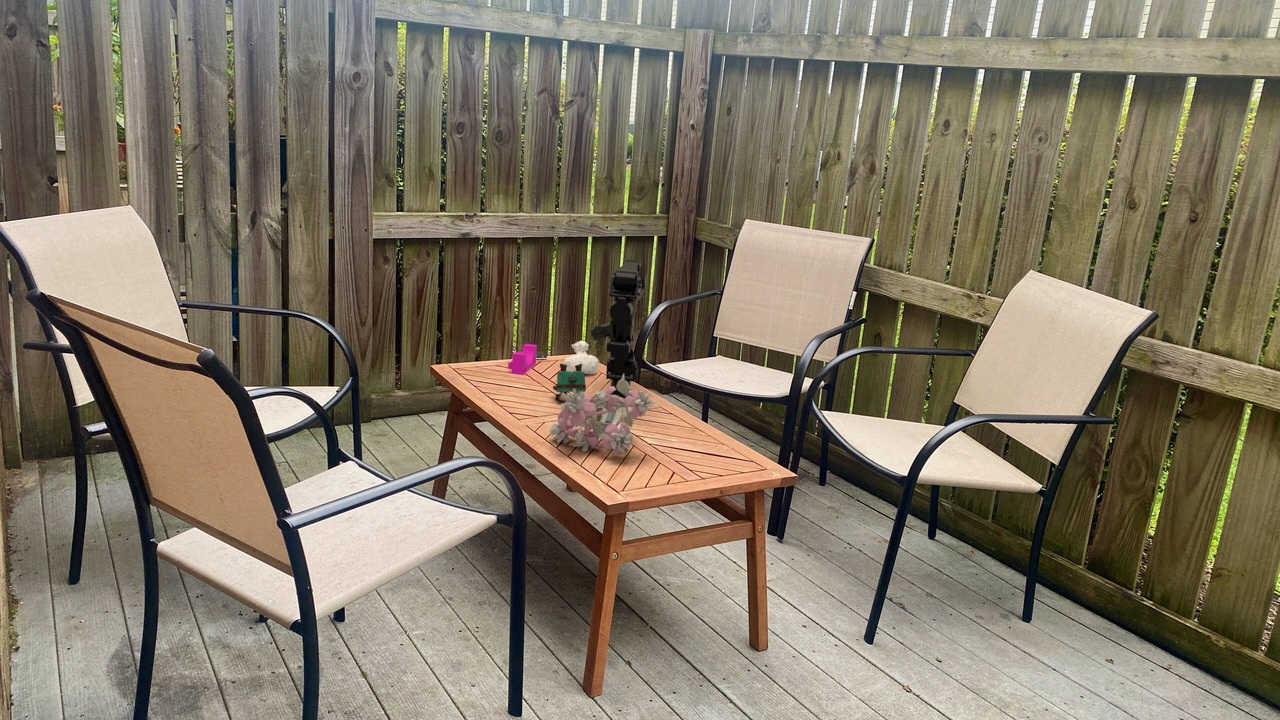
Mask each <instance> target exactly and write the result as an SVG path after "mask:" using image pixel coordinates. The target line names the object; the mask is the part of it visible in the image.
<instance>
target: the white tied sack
mask: <svg viewBox="0 0 1280 720" xmlns="http://www.w3.org/2000/svg"><path fill="white" fill-rule="evenodd" d="M589 346H590V344H588V343H587V341H584V340H580V341H577V342H575V343H574V344H571V348H572V349H573V351H574V352H575V353H576V354H574V355H573V354H572V355H570V356H568V357H566V358H564V359H563V362H562V364H565V365H567V367H566V371H571V372H573V371H576V368H575V366H576V365H579V364H582V367H581V371H583V372H584V373H585V374H589V375H588V376H590V374H591V375H595V374H596V373H597V372H598V368H599V363H600V360H599V358H597V356H594V355H592V354H588V353H587V351H589Z"/></svg>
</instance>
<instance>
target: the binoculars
mask: <svg viewBox="0 0 1280 720" xmlns="http://www.w3.org/2000/svg"><path fill="white" fill-rule="evenodd" d="M566 367H567V365H565V364H564V363H559V368H560V371H557V378H556V383H555V385H554V386H553V387H552V389H553V390H554V391H556V392H557V393H556V394H555V397H554V399H555V400H558V401H559V400H560V401H561V402H565V401H566V399H564V398H561V394H562V392H563V393H564V394H566V395H568V393H573V389H575V390H576V391H577V393H578V391H583V392H584V393H585V392H586V389H587V385H586V375H585V373H584V372H583V371H581V367H582V364H579V365H576V366H575V368H576V371H573V372H571V371H566ZM573 396H574V394H573Z"/></svg>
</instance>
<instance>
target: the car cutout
mask: <svg viewBox="0 0 1280 720" xmlns="http://www.w3.org/2000/svg"><path fill="white" fill-rule="evenodd" d="M536 358H548V356H547V354H544V353H543V351H537V352H536ZM545 360H546V361H547V359H536V361H545Z"/></svg>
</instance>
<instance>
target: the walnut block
mask: <svg viewBox="0 0 1280 720" xmlns="http://www.w3.org/2000/svg"><path fill="white" fill-rule="evenodd" d="M591 403H595V402H594V401H592V402H591ZM596 403H597V402H596ZM596 403H595V404H596ZM602 410H603V408H597V411H596V412H599V411H602ZM601 418H602V415H600V416H597V421H598V422H600V420H601Z"/></svg>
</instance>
